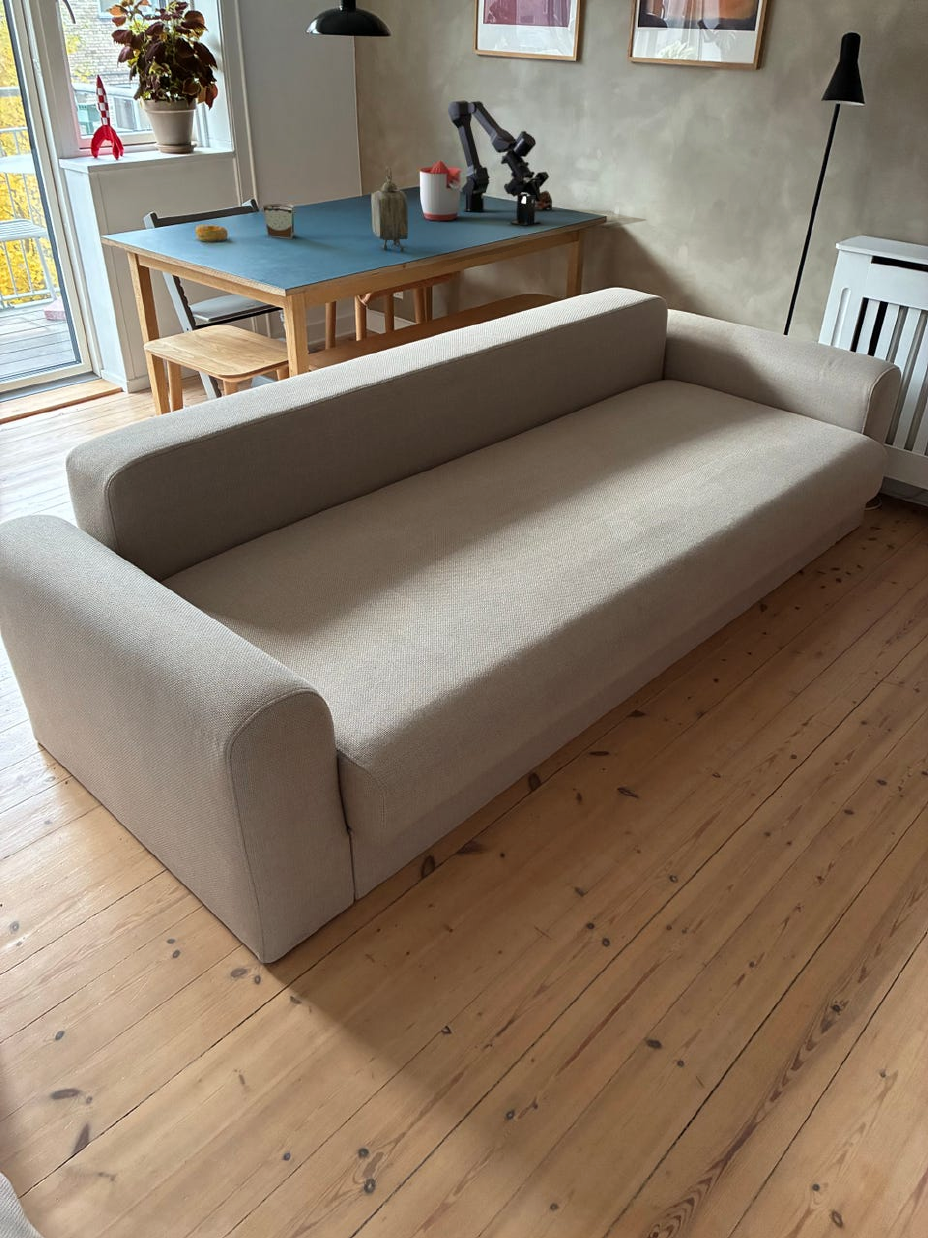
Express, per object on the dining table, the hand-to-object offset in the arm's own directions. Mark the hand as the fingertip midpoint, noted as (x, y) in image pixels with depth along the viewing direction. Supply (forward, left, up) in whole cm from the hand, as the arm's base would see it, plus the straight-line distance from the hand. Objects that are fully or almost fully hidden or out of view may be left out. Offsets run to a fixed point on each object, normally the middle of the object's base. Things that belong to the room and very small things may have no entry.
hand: (539, 201), depth 352 cm
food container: (-85, -43, -7) cm, 96 cm away
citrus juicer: (-37, -1, -7) cm, 38 cm away
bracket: (-4, -7, -7) cm, 11 cm away
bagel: (-107, -54, -7) cm, 120 cm away
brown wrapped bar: (-2, -4, -1) cm, 5 cm away
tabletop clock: (-43, -56, -7) cm, 71 cm away
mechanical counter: (-4, +24, -7) cm, 25 cm away
